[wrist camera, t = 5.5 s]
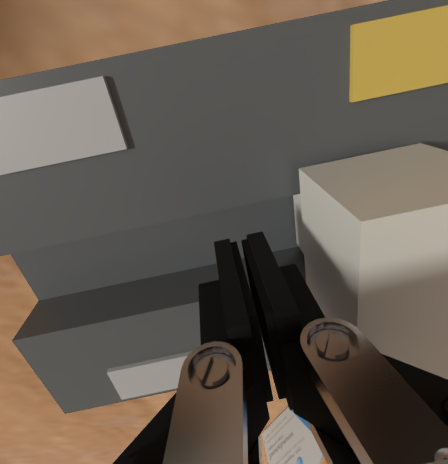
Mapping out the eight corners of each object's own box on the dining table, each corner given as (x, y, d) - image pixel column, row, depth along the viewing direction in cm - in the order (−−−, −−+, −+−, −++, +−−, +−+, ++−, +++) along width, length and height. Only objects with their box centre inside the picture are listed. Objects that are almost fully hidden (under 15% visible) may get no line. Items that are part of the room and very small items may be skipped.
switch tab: (368, 254, 15) (485, 372, 9) (288, 271, 15) (354, 400, 9) (375, 129, 12) (552, 181, 6) (277, 150, 12) (360, 221, 6)
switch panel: (444, 273, 18) (508, 324, 15) (89, 348, 18) (63, 417, 15) (502, -13, 12) (645, -54, 8) (-51, 100, 12) (-163, 112, 8)
